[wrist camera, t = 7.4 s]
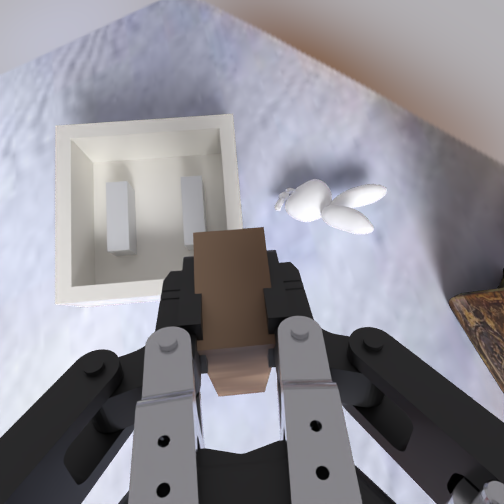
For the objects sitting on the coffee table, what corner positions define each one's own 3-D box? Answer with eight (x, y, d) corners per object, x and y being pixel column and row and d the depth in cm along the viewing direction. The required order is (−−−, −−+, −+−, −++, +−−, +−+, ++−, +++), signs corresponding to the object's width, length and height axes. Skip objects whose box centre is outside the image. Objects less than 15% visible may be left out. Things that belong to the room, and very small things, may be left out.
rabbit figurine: (291, 162, 31) (394, 169, 28) (296, 204, 34) (391, 215, 30) (258, 199, 27) (372, 212, 24) (266, 243, 30) (371, 262, 26)
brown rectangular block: (218, 396, 20) (196, 350, 11) (214, 322, 22) (193, 232, 13) (264, 391, 20) (278, 343, 11) (256, 318, 22) (263, 227, 13)
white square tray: (87, 307, 29) (55, 304, 24) (85, 157, 31) (55, 125, 26) (247, 293, 29) (248, 287, 24) (234, 146, 31) (232, 113, 26)
